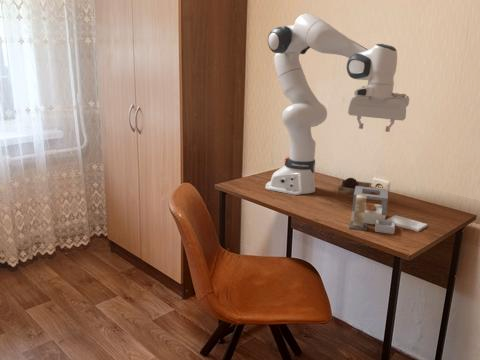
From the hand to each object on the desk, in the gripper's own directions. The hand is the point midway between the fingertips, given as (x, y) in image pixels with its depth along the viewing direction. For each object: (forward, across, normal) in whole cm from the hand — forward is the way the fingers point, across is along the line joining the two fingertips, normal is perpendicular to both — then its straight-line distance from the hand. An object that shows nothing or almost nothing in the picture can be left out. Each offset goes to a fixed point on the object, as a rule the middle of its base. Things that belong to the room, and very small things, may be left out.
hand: (374, 130), depth 170 cm
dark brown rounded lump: (+35, +7, -32) cm, 48 cm away
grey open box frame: (+34, -2, +1) cm, 34 cm away
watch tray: (+34, +5, -34) cm, 49 cm away
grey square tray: (+33, -9, +11) cm, 36 cm away
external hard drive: (+34, -16, +2) cm, 38 cm away
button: (+32, -2, +1) cm, 32 cm away
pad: (+34, 0, +12) cm, 36 cm away
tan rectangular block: (+33, 0, +12) cm, 35 cm away
